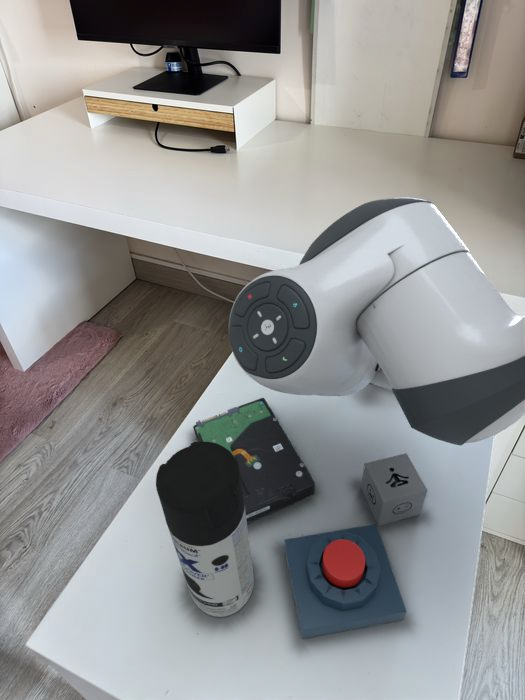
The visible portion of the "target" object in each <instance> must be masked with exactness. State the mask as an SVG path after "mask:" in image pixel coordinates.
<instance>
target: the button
mask: <svg viewBox="0 0 525 700" xmlns="http://www.w3.org/2000/svg"><path fill="white" fill-rule="evenodd" d="M322 567H323V572H324V574H325V576H326V578H327V579H328V580H329V581H330V582H331V583H332V584H334V585H335V586H338V587H342V588H348V587H352V586H354V585H356V584H357V583H358V582H359V581H360V580H361V578H362V576H363V573H364V568H365V557H364V554H363V552H362V550H361V549H360V548H359V546H357V545H356V544H355V543H353V542H351V541H349V540H336V541H333V542H332V543H330V544H329V545H328V546H327V547H326V549H325V551H324V554H323V564H322Z"/></svg>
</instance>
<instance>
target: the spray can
mask: <svg viewBox="0 0 525 700" xmlns="http://www.w3.org/2000/svg"><path fill="white" fill-rule="evenodd" d="M155 487H156V492H157V495H158V499H159V501H160V505H161V508H162V512H163V515H164V519H165V524H166V526H167V529H168V532H169V535H170V537H171V541H172V543H173V546H174V550H175V552H176V555H177V559H178V561H179V564H180V566H181V569H182V572H183V576H184V579H185V581H186V585H187V587H188V591H189V593H190V596H191V599H192V600H193V603H194V604H195V605H196V607H198V609H199V610H201V611H202V612H203V614H206V615H208V616H211V617H214V618H215V617H216V618H228V617H229V616H232V615H234V614H236V613H238V612H239V611H240V610H241V609H243V608H244V606H246V604H247V603H248V601H249V600H250V598H251V596H252V593H253V589H254V582H255V576H254V568H253V561H252V553H251V545H250V537H249V528H248V527H249V526H248V523H247V519H246V512H245V503H244V496H243V490H242V484H241V478H240V471H239V466H238V463H237V461H236V459H235V457H234V456H233V455H232V453H231V452H230V451H229V450H228V449H226V448H225V447H223V446H221V445H219V444H217V443H213V442H203V441H199V442H198V441H193V442H191V443H190V445H188V446H186V447H183V448H181V449H179V450H178V451H176V452H175V453H174V454H172V456H170V458H169V459H167V460H166V462H165V463H161V464H160V465H159V467H158V470H157V472H156V478H155Z"/></svg>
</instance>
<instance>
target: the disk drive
mask: <svg viewBox="0 0 525 700" xmlns="http://www.w3.org/2000/svg"><path fill="white" fill-rule="evenodd" d="M192 428H193V431H194V435H195V438H196V441H197V442H199V441H203V442H213V443H217V444H219V445H221V446H223V447H225V448H226V449H228V450H229V451H230V452H231V453H232V455H233V456H234V457H235V459H236V461H237V463H238V466H239V471H240V478H241V484H242V490H243V496H244V503H245V512H246V519H247V524H249V523H251V522H254V521H257V520H258V519H260V518H263V517H265V516H267V515H270V514H273V513H275V512H276V511H279V510H282V509H283V508H287V507H288V506H291V505H293V504H296V503H298V502H300V501H302V500H305V499H306V498H310V497H311V496H314V495H315V493H316V492H315V491H316V482H315V480H314V479H313V477H312V475H311V473H310V471H309V470H308V468H307V466H306V465H305V464H304V462H303V460H302V459H301V457H300V455H299V453H298V452H297V450H296V449H295V446H294V445H293V444H292V441H291V440H290V439H289V437H288V435H287V433H286V432H285V430H284V429H283V427H282V425H281V424H280V422H279V420H278V418H277V417H276V415H275V413H274V411H273V409H272V408H271V407H270V405H269V404H268V402H267V400H266V398H264V397H260V398H258V399H255V400H252V401H249V402H247V403H244V404H241V405H239V406H235V407H231V408H229V409H227V412H226V411H225V412H222V413H218V415H217V414H215V415H213V416H211V417H208V418H205V419H203V420H200V419H199V420H197V421H195V424H194V425H193V427H192Z"/></svg>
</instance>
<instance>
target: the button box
mask: <svg viewBox="0 0 525 700" xmlns="http://www.w3.org/2000/svg"><path fill="white" fill-rule="evenodd" d="M336 540H349V541H351V542H353V543H355V544H356V545H357V546H359V548H360V549H361V550H362V552H363V554H364V557H365V568H364V573H363V576H362V578H361V580H360V581H359V582H358V583H357V584H356V585H354V586H352V587H348V588H342V587H338V586H335V585H334V584H332V583H331V582H330V581H329V580H328V579H327V578H326V576H325V574H324V572H323V567H322V564H323V554H324V551H325V549H326V547H327V546H328V545H329V544H330V543H332V542H333V541H336ZM283 542H284V553H285V558H286V563H287V568H288V573H289V578H290V583H291V588H292V593H293V599H294V603H295V609H296V614H297V620H298V623H299V629H300V634H301V639H302V640H305V639H309V638H310V639H311V638H314V637H320V636H325V635H331V634H336V633H341V632H346V631H351V630H358V629H363V628H367V627H368V628H369V627H373V626H378V625H384V624H390V623H395V622H399V621H403V620H404V619H405V616H406V613H407V609H406V606H405V602H404V600H403V597H402V594H401V592H400V587H399V586H398V582H397V580H396V577H395V574H394V571H393V568H392V565H391V562H390V560H389V557H388V554H387V551H386V548H385V546H384V542H383V539H382V537H381V533H380V531H379V528H378V524H377V523H373V524H366V525H362V526H361V525H360V526H355V527H350V528H344V529H338V530H333V531H332V530H331V531H326V532H321V533H320V532H319V533H315V534H309V535H302V536H298V537H292V538H286V539H284V541H283Z"/></svg>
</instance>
